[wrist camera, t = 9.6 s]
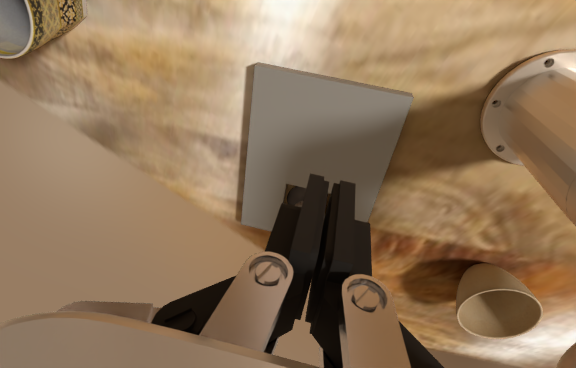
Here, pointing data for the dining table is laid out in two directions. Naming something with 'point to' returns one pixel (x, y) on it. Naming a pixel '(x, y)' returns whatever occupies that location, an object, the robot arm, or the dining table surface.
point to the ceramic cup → (36, 23)
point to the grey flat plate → (317, 139)
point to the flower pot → (495, 303)
